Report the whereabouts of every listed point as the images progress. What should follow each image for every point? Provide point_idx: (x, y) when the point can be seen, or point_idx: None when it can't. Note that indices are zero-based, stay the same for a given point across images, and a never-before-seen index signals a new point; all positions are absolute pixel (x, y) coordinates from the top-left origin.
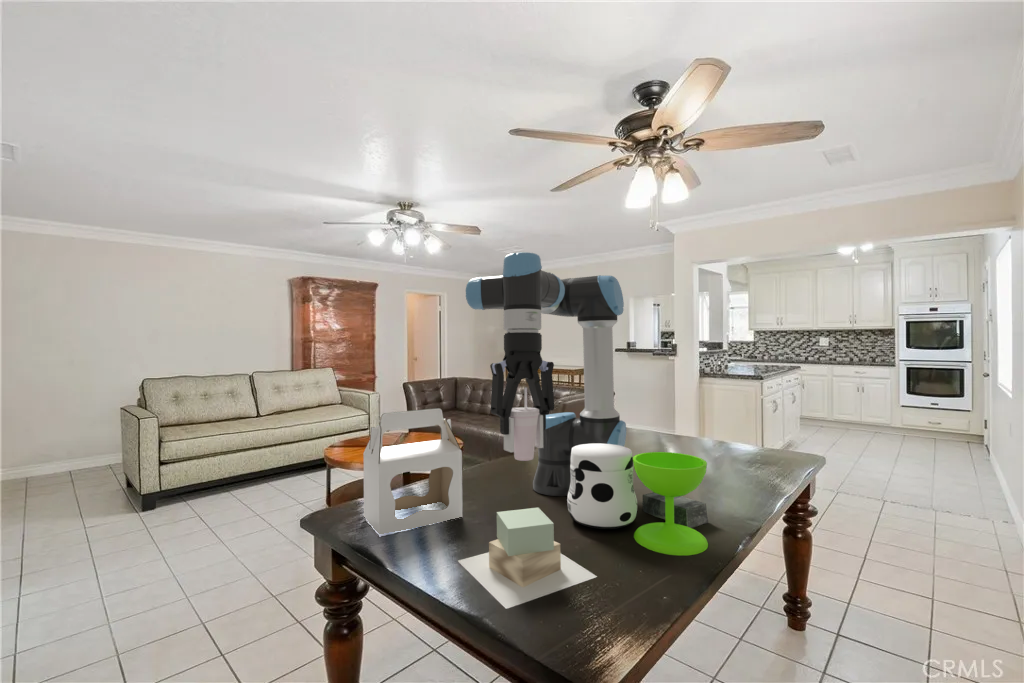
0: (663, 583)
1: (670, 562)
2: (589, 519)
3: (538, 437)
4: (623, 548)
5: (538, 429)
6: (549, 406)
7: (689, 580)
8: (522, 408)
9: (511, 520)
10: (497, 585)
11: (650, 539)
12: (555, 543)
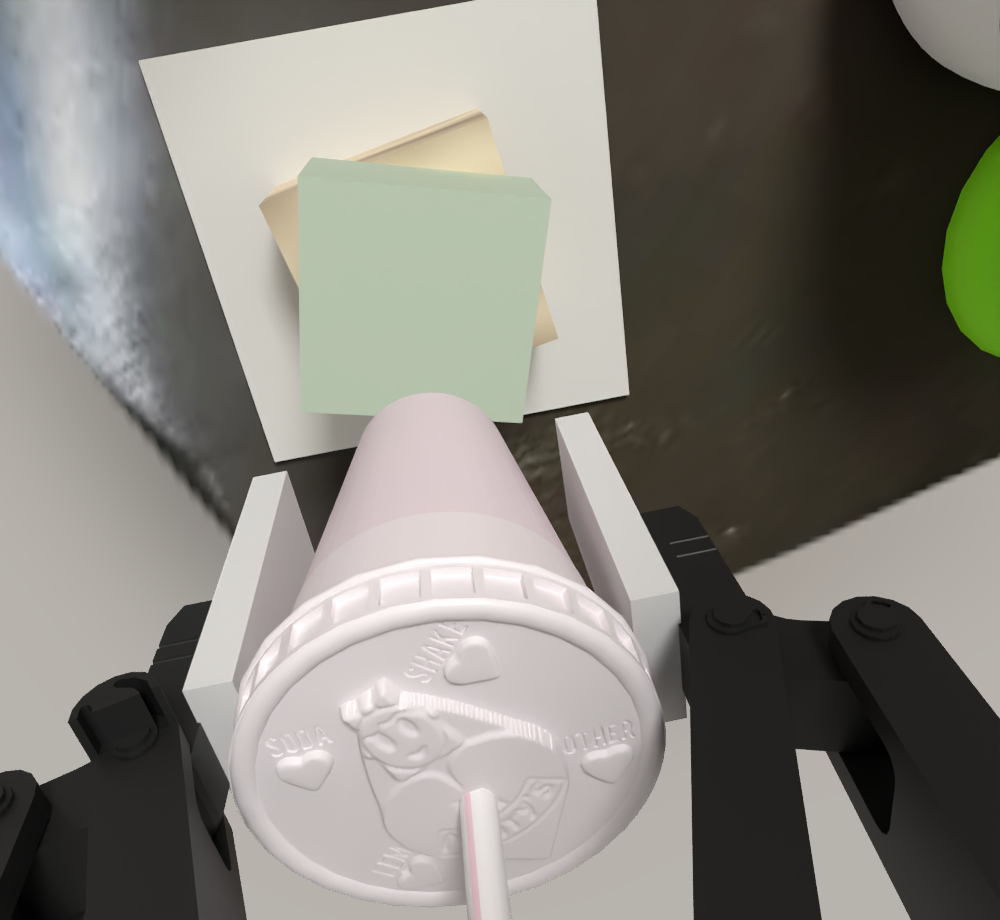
0: (785, 476)
1: (914, 380)
2: (903, 6)
3: (584, 545)
4: (869, 224)
5: (601, 592)
6: (834, 764)
7: (862, 486)
8: (450, 766)
9: (345, 323)
10: (278, 331)
11: (997, 240)
12: (541, 328)
